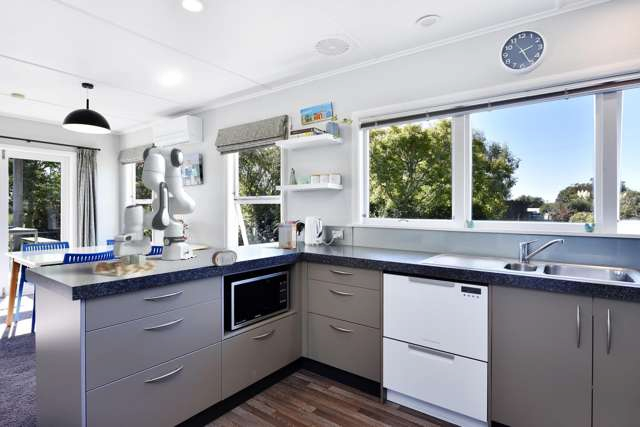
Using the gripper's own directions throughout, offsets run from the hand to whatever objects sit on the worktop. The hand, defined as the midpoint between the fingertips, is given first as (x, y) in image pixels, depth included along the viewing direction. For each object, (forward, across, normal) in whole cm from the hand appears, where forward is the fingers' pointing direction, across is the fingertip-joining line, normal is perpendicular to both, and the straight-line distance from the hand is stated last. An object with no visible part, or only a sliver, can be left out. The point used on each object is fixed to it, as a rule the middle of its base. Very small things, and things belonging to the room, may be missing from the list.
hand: (133, 263), depth 174 cm
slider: (+2, 0, 0) cm, 2 cm away
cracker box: (+3, -123, +29) cm, 127 cm away
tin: (+3, -30, +34) cm, 45 cm away
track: (+3, +5, 0) cm, 6 cm away
